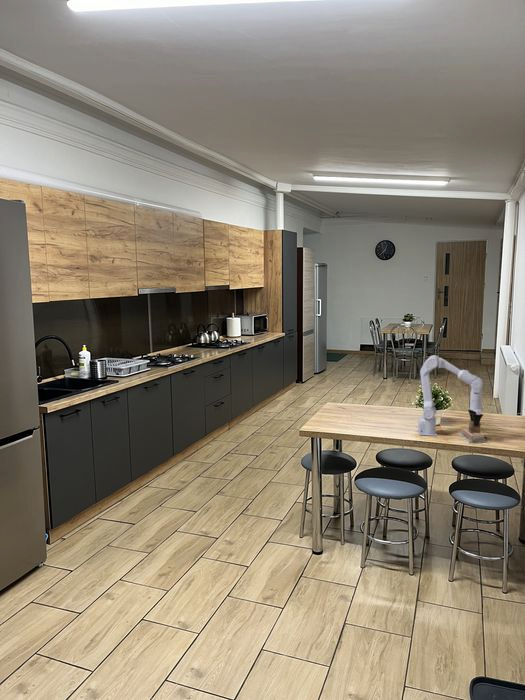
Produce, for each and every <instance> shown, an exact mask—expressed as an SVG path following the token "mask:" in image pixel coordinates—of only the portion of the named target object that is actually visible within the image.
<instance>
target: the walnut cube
mask: <svg viewBox="0 0 525 700" xmlns="http://www.w3.org/2000/svg"><path fill="white" fill-rule="evenodd" d="M481 427H482V426H481V422H480V423H479V426H478V427H476V426H474V422H473V421H471V420H468V428H469V431H470V432H474V433H480V434H481Z"/></svg>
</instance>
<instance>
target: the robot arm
mask: <svg viewBox="0 0 525 700" xmlns="http://www.w3.org/2000/svg"><path fill="white" fill-rule="evenodd" d="M436 368H438V369H446V370H447V371H449V372H451V373H453V374H455V375H457V378H458V379H459V380H460V381H462V382H463V383H465V384H466V385H469V386H470V387H471V388H470V389H471V390H470V397H469V398H470V399H469V400H470V401H469V402H470V403H469V409H467V411H468V415H469V419H470V421H473V422H474V426H476V427H478V426H479V423H481V419H482V418H483V416H484V414H483V413H482V411H484V408H483V407H482V404H483V403H482V402H483V384H484V382H483V380H482V378H480V377H479V376H477V375H474V374H472V373H470V371H469V370H468V369H466V370H465V369H459V368H458V367H456V365H453V364H452V363H450V362H449V361H447V360H446V359H444V358H442V357H440V356H438V355H437V354H433V355H432V354H431V355H430V356H428V358H427V359H426V360H425V361H424V363H423V365H422V366H421V368H420V371H419V374H420V382H421V390H422V396H423V397H422V398H423V410H422V417H418V419H417V420H418V422H417V423H418V426H417V433H418V435H419V436H433V437H435V436H438V434H437V433H436V432H437V431H436V429H437V428H436V427H437V417H436V416H435V415H436V414H437V408H436V407H435V404H434V400H433V395H432V394H433V392H432V384H431V383H432V382H431V379H430V377H431V376H430V373H431V372H432V370H434V369H436Z"/></svg>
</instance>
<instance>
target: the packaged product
mask: <svg viewBox="0 0 525 700" xmlns="http://www.w3.org/2000/svg"><path fill="white" fill-rule="evenodd" d="M457 434H458V435H459V436H460V437H461V436H462V437H461V438H462V439H463V440H465V441H466V442H467V441H468V442H469V443H468V442H467V443H468V444H483V443H487V444H488V440H487V439H485V436H484V435H483V434H482V433H481V432H480V433H474V432H470V431H469V427H466V428H462V429H461V432H458V433H457Z"/></svg>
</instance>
